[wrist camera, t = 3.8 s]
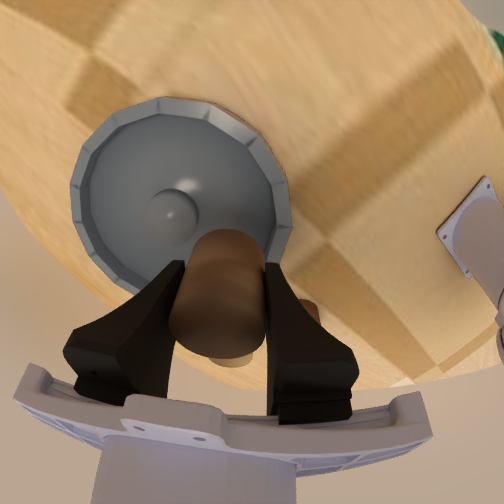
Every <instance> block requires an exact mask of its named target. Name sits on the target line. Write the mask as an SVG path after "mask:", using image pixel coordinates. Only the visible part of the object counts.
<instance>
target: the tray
mask: <svg viewBox="0 0 504 504" xmlns="http://www.w3.org/2000/svg"><path fill="white" fill-rule="evenodd" d="M70 197H71V209H72V219H73V224H74V226H75V228H76V230H77V233H78V235H79V237H80V239H81V241H82V243H83V245H84V248H85V250H86V252H87V254H88V256H89V257H90V258H91V259H92V260H93V261H94V263H95V264H96V265H97V266H98V267H99V268H100V269H101V270H102V271H103V272H104V273H105V274H106V275H107V276H108V277H109V278H110V279H111V281H112V282H113V283H115V284H116V285H118V286H120V287H121V288H123V289H125V290H126V291H128V292H130V293H132V294H133V295H136V294H137V293H138V292H140V291H141V290H142V289H143V288H144V287H145V286H146V285H148V284H149V283H150V282H151V281H152V280H153V279H154V278H155V277H156V276H157V275H158V274H159V273H160V272H161V271H162V270H163V269H164V268H165V267H166V266H167V265H168V264H169V263H170V262H171V261H172V260H184V261H185V268H186V266H187V264H188V261H189V258H190V255H191V253H192V250H193V247H194V245H195V243H196V242H197V241H198V240H199V239H200V238H201V237H202V236H203V235H204V234H206V233H208V232H210V231H213V230H217V229H234V230H238V231H241V232H244V233H246V234H248V235H249V236H251V237H252V238H253V239H254V240H256V242H257V243H258V244H259V245H260V247H261V249H262V251H263V254H264V259H265V262H272V263H278V264H280V261H281V258H282V255H283V252H284V250H285V247H286V244H287V241H288V238H289V236H290V233H291V230H292V219H291V210H290V201H289V192H288V183H287V178H286V175H285V173H284V171H283V169H282V168H281V166H280V164H279V163H278V161H277V159H276V157H275V155H274V153H273V151H272V150H271V148H270V147H269V145H268V144H267V143H266V141H265V140H264V139H263V137H262V135H261V134H260V132H259V131H257V130H256V129H254V128H253V127H252V126H251V125H250V124H248V123H247V122H246V121H244V120H243V119H242V118H240V117H239V116H237V115H236V114H234V113H232V112H230V111H228V110H227V109H225V108H222V107H221V106H219V105H218V104H216V103H211V102H205V101H200V100H195V99H185V98H174V97H159V98H155V99H152V100H149V101H146V102H143V103H140V104H137V105H135V106H132V107H129V108H126V109H124V110H121V111H119V112H116V113H114V114H112V115H111V116H110V117H109V118H108V119H107V120H106V121H105V122H104V123H103V124H102V125H101V126H100V127H99V128H98V129H97V130H96V131H95V132H94V133H93V134H92V135H91V136H90V138H89V139H88V140H87V141H86V142H85V143H84V144H83V145H82V148H81V150H80V153H79V156H78V159H77V162H76V165H75V168H74V171H73V175H72V178H71V181H70Z"/></svg>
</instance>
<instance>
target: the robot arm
mask: <svg viewBox="0 0 504 504" xmlns="http://www.w3.org/2000/svg"><path fill="white" fill-rule="evenodd" d="M487 185H488V186H487ZM444 235H445V236H444ZM437 236H438V237H439V239H440V240H441V241H442V243H443V244H444V245H445V247H446V248H447V250H448V251H449V253H450V254H451V255H452V257H453V258H454V260H455V261H456V263H457V264H458V266H459V267H460V269H461V271H462V272H463V274H464V275H465V277H466V278H467V279H469V278H471V277H472V276H473V277H474V278H475V279H476V280H477V282H478V283H479V284H480V286H481V287H482V289H483V290H484V291H485V293H486V294H487V296H488V297H489V298H490V300H491V301H492V303H493V304H494V306H495V307H496V309H497V310H498V313H497V315H496V317H495V321H496V322H497V324H498V326H499V327H500V328H499V329H498V332H497V336H496V342H497V348H498V352H499V356H500V358H501V360H502V362H503V364H504V207H503V206H502V205H500V203H499V200H498V198H497V195H496V193H495V191H494V188H493V186H492V184H491V182H490V180H489V178H488V177H486V176H485V177H483V178H482V180H481V181H480V182H479V184H478V185H477V186H476V187H475V188H474V190H473V191H472V192H471V193H470V195H469V196H468V197H467V198H466V199H465V201H464V202H463V203H462V204H461V205H460V206H459V207H458V209H457V210H456V211H455V212H454V213H453V214H452V215H451V217H450V218H449V219H448V220H447V221H446V222H445V223H444V224H443V225H442V226H441V227H440V228H439V230H438V231H437ZM443 236H444V237H443ZM185 269H186V268H185V261H184V260H172V261H171V262H170V263H169V264H168V265H167V266H166V267H165V268H164V269H163V270H162V271H161V272H160V273H159V274H158V275H157V276H156V277H155V278H154V279H153V280H152V281H151V282H150V283H149V284H148V285H146V286H145V287H144V288H143V289H142V290H141V291H140V292H138V293H137V294H136V295H135V296H134V297H132V298H131V299H130V300H128V301H127V302H126V303H124V304H123V305H121V306H120V307H118V308H117V309H115V310H113V311H112V312H110V313H109V314H107V315H105V316H104V317H101V318H99V319H97V320H96V321H93V322H91V323H89V324H86V325H84V326H82V327H79V328H77V329H74V330H73V332H72V333H71V335H70V337H69V339H68V341H67V343H66V345H65V347H64V349H63V355H64V358H65V359H66V361H67V362H68V364H69V365H70V366H71V367H72V369H73V370H74V371H75V372H76V374H77V375H78V378H77V380H76V382H75V385H72V384H69V383H66V382H63V381H60V380H58V379H55V378H53V377H52V376H51V374H50V373H49V372H48V371H47V370H46V369H44V368H42V367H40V366H37V365H35V364H32V363H29V365H28V366H27V369H26V370H25V373H24V374H23V377H22V379H21V381H20V383H19V385H18V387H17V390H16V392H15V394H14V396H13V400H15V402H17V403H18V404H19V405H20V406H21V407H23V408H24V409H25V410H26V411H27V412H28V413H30V414H31V415H32V416H33V417H35V418H36V419H37V420H38V421H40V422H42V423H44V424H46V425H48V426H50V427H52V428H54V429H56V430H58V431H60V432H62V433H64V434H66V435H68V436H70V437H72V438H74V439H76V440H79V441H81V442H83V443H86V444H88V445H90V446H92V447H95V448H97V449H100V450H102V453H101V457H100V461H99V465H98V469H97V474H96V478H95V484H94V488H93V493H92V498H91V504H296V477H304V476H313V475H319V474H326V473H331V472H337V471H342V470H347V469H352V468H356V467H360V466H364V465H368V464H373V463H376V462H380V461H384V460H387V459H391V458H395V457H398V456H402V455H405V454H407V453H409V452H410V451H412V450H414V449H415V448H417V447H419V446H420V445H422V444H423V443H425V442H427V441H428V440H430V439H431V438H432V437H433V434H432V430H431V427H430V423H429V419H428V416H427V412H426V409H425V406H424V402H423V399H422V396H421V393H420V392H419V391H417V392H413V393H409V394H404V395H400V396H398V397H395V398H394V399H393V400H392V401H391V402H390V403H389V405H384V406H378V407H373V408H366V409H360V410H352V407H351V402H350V399H351V398H352V394H351V387H352V386H353V384H354V383H355V381H356V380H357V378H358V376H359V368H358V364H357V361H356V358H355V356H354V354H353V351H352V349H351V348H349V347H348V346H346V345H345V344H343V343H342V342H340V341H339V340H338V339H336V338H335V337H334V336H332V335H331V334H330V333H328V332H327V331H326V330H325V329H324V328H323V327H322V326H321V325H320V324H319V323H318V322H317V321H316V320H315V319H314V318H313V317H312V316H311V315H310V314H309V313H308V311H307V310H306V309H305V308H304V307H303V305H302V304H301V303H300V301H299V300H298V298H297V297H296V295H295V294H294V292H293V291H292V289H291V287H290V286H289V284H288V282H287V280H286V279H285V277H284V275H283V272H282V270H281V268H280V265H279V264H278V263H272V262H265V272H264V278H265V332H266V342H267V416H247V415H226V414H224V413H223V412H222V411H221V410H220V409H218V408H216V407H214V406H211V405H207V404H202V403H195V402H186V401H179V400H172V399H167V392H168V382H169V374H170V368H171V361H172V355H173V350H174V346H175V342H176V339H175V338H174V337H173V335H172V334H171V332H170V329H169V324H168V322H169V316H170V313H171V310H172V307H173V304H174V301H175V298H176V295H177V292H178V289H179V286H180V283H181V281H182V278H183V275H184V272H185Z"/></svg>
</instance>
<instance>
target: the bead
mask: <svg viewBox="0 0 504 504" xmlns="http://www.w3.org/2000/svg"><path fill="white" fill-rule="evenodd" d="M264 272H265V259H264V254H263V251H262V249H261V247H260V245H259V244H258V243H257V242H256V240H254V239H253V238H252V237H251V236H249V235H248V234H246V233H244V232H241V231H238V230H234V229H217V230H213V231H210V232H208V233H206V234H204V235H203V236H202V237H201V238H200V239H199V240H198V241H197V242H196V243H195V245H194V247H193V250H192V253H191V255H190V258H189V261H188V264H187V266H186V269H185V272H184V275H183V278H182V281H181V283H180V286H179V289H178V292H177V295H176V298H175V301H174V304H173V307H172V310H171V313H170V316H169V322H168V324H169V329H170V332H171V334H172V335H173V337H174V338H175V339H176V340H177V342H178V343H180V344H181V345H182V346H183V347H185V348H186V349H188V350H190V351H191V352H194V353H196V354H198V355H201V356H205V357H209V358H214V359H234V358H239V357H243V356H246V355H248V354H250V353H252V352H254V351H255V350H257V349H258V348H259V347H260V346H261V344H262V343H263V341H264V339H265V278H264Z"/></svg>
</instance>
